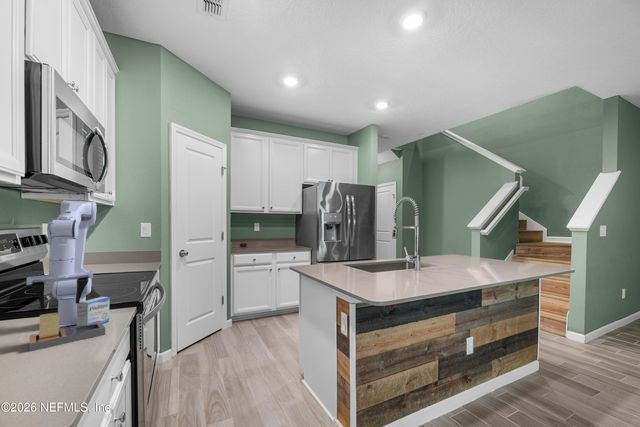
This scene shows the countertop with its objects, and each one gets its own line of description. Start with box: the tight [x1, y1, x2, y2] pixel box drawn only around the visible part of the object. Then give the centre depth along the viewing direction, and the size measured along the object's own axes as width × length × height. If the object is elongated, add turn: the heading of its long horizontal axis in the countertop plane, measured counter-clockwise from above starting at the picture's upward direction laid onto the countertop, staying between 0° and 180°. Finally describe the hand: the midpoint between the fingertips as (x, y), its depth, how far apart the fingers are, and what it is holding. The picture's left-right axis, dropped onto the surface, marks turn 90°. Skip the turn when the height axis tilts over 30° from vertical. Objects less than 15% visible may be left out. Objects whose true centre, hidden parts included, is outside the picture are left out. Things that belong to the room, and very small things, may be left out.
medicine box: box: [76, 296, 111, 327], centre depth 97 cm, size 8×4×9 cm, turn 168°
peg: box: [38, 311, 60, 340], centre depth 81 cm, size 4×4×8 cm
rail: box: [28, 322, 106, 352], centre depth 85 cm, size 8×16×2 cm, turn 136°
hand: (60, 305), depth 84 cm, fingers open, 7 cm apart
